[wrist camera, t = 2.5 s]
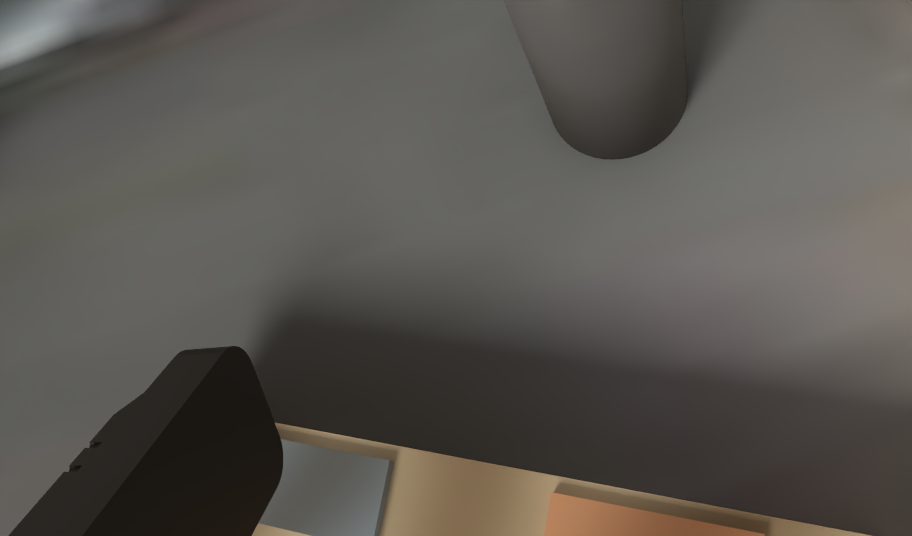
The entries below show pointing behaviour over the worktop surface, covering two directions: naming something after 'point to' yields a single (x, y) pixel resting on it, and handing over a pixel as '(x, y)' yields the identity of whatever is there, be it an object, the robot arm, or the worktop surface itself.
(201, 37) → the worktop surface
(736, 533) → the socket board
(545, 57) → the plug
